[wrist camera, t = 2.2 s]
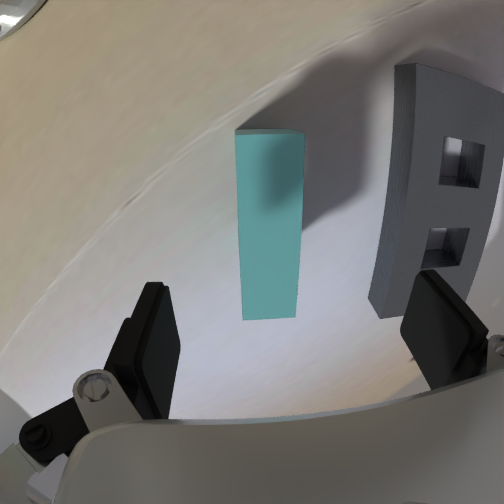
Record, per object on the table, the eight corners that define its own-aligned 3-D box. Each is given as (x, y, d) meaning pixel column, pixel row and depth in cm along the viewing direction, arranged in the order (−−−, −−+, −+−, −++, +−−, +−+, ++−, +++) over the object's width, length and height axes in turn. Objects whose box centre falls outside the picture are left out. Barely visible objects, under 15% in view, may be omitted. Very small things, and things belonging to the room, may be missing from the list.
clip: (234, 123, 19) (235, 135, 12) (279, 122, 19) (304, 134, 13) (239, 256, 24) (242, 320, 17) (278, 254, 24) (295, 317, 17)
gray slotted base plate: (394, 65, 17) (415, 63, 15) (485, 92, 18) (508, 95, 15) (367, 298, 27) (379, 319, 24) (449, 288, 27) (463, 305, 24)
